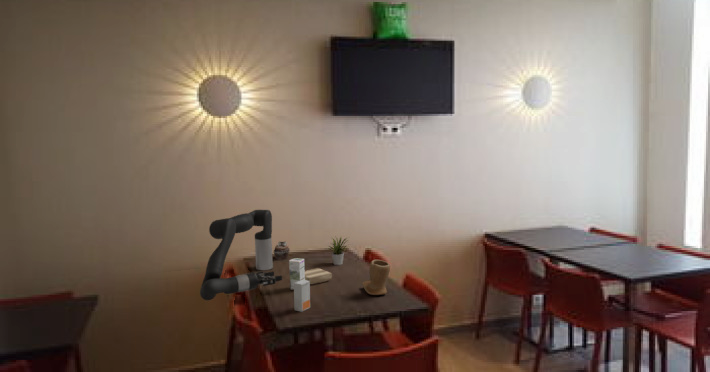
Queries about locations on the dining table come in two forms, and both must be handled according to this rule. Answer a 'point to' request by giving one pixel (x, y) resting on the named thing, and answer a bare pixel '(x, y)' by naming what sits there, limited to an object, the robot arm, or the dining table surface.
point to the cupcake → (281, 251)
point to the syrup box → (296, 271)
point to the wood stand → (317, 276)
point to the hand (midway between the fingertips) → (277, 275)
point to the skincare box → (302, 295)
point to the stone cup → (377, 277)
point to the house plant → (338, 251)
